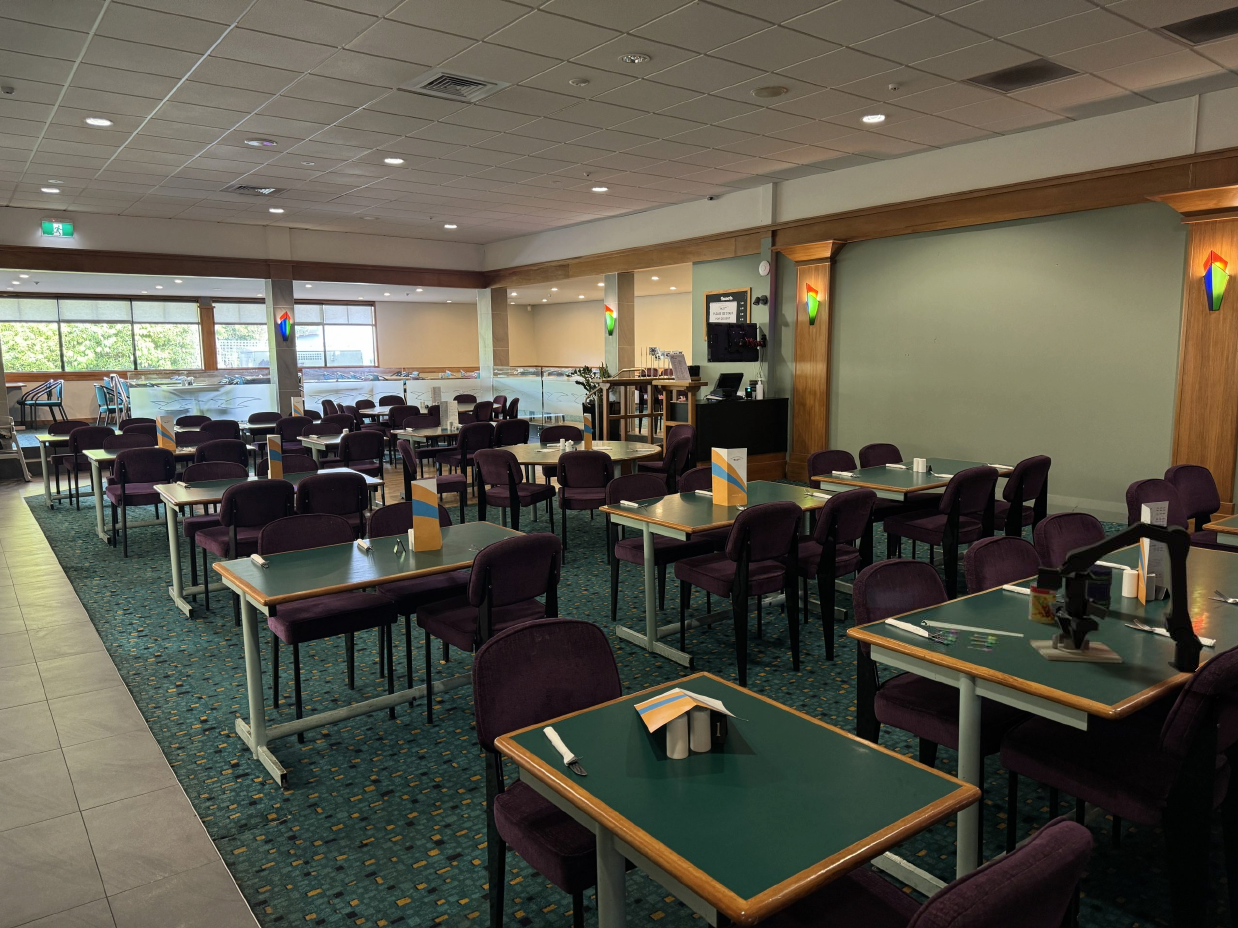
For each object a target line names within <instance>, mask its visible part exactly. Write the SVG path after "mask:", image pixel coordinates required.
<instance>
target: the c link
mask: <svg viewBox="0 0 1238 928" xmlns="http://www.w3.org/2000/svg"><path fill="white" fill-rule="evenodd" d="M1056 633H1057V634H1056V635H1058V644H1064V649H1065V650H1089V643H1090V642H1091V640H1090V639H1088V638H1087V637H1086V636H1085V638H1084V641H1083V643H1082V645H1081V648H1080V649H1076V648H1075V645H1074V642H1073V639H1072V635H1071V633H1063V632H1056Z"/></svg>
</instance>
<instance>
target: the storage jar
mask: <svg viewBox="0 0 1238 928" xmlns="http://www.w3.org/2000/svg"><path fill="white" fill-rule="evenodd" d="M1088 570H1089V571H1090V573H1091V574H1092V575H1094V576H1095V581H1091V580H1088V581H1087V598H1088V599H1090V598H1092V599H1094V600H1096V601H1098V605H1100V606H1102V607H1104V608H1106V609H1107V610H1108V613H1107V614H1109V613H1110V611H1111V610H1110V608H1111V604H1112V601H1111V600H1112V596H1111V587H1112V584H1113V568H1112V567H1109V566H1106V565H1103V564H1102V565H1101V564H1094V565H1092V566H1091V567H1089V568H1088V569H1087V570H1085V571H1084V572H1080V573H1086V572H1087V571H1088Z"/></svg>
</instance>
